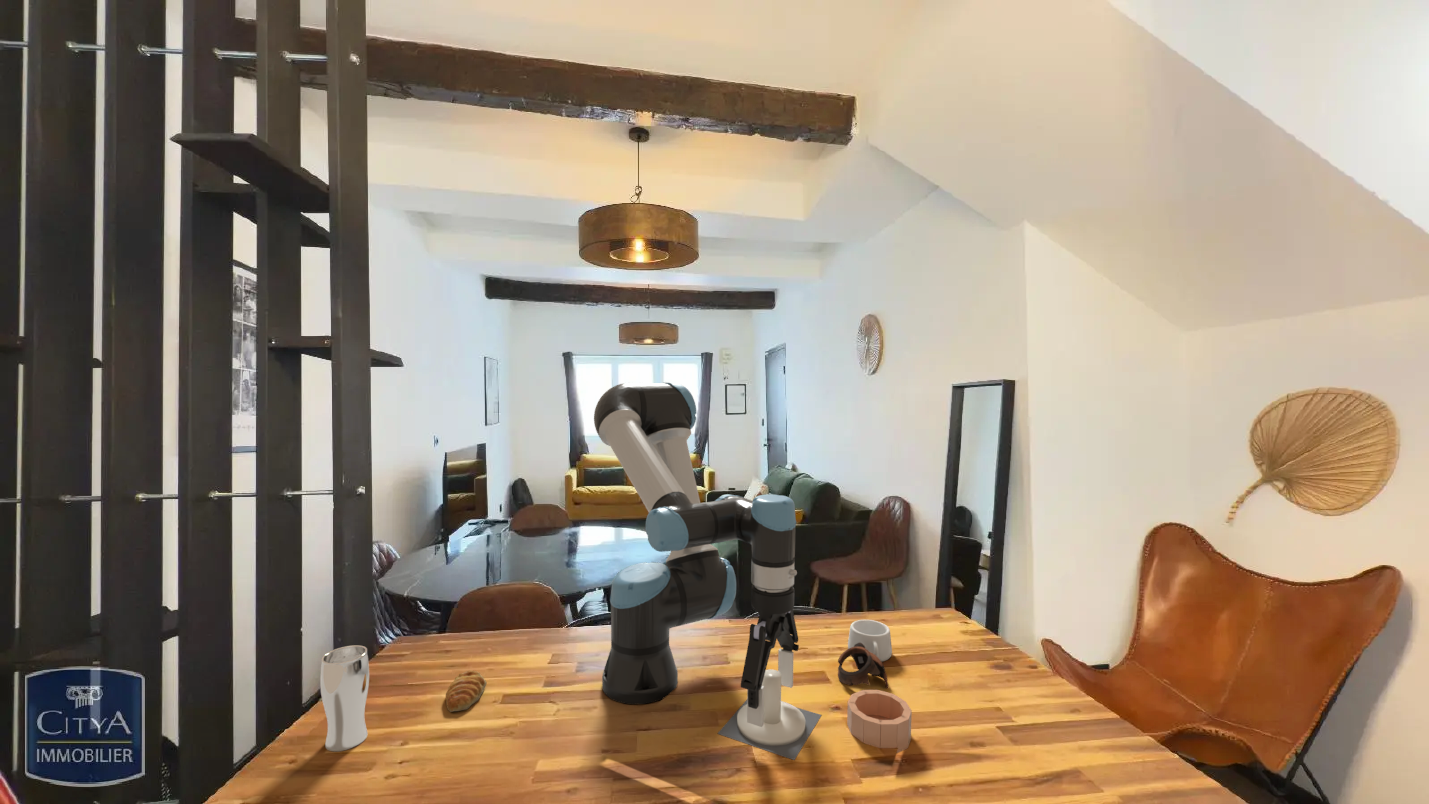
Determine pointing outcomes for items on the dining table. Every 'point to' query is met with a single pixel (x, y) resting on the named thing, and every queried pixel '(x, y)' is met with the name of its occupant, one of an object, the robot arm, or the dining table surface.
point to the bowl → (879, 719)
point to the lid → (773, 716)
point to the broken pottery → (861, 666)
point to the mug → (871, 637)
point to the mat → (782, 750)
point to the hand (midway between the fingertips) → (771, 703)
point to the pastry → (465, 691)
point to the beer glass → (345, 696)
